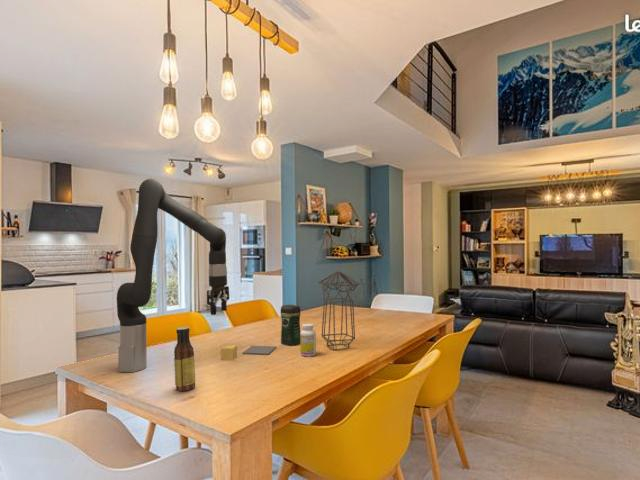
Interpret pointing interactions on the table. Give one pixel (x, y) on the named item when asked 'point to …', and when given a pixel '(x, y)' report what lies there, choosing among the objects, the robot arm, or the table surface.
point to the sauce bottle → (184, 361)
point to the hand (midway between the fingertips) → (218, 312)
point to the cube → (229, 352)
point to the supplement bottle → (308, 340)
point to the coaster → (259, 350)
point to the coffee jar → (290, 325)
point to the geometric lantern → (342, 306)
